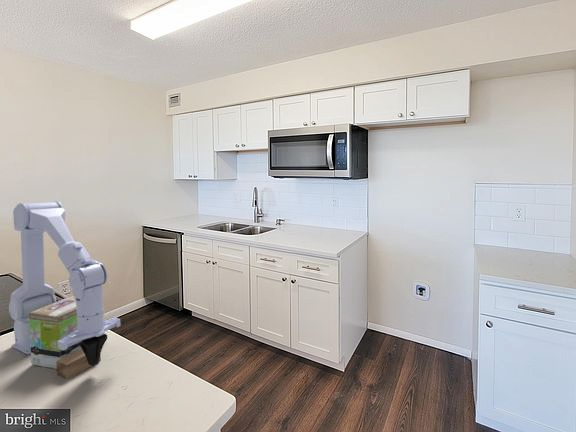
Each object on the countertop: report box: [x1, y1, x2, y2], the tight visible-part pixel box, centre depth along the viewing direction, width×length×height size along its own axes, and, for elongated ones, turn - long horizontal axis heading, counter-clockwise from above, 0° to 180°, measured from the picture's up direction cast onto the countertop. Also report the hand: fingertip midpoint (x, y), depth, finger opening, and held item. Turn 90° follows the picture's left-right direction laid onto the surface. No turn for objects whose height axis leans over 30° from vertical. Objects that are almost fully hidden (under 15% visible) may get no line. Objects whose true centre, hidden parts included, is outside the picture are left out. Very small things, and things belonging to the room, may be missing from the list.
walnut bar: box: [56, 349, 102, 380], centre depth 85 cm, size 4×9×4 cm, turn 158°
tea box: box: [29, 295, 81, 370], centre depth 91 cm, size 15×10×15 cm, turn 168°
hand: (93, 363), depth 82 cm, fingers closed
